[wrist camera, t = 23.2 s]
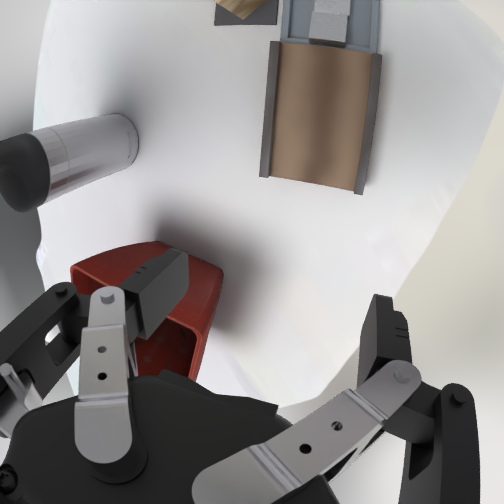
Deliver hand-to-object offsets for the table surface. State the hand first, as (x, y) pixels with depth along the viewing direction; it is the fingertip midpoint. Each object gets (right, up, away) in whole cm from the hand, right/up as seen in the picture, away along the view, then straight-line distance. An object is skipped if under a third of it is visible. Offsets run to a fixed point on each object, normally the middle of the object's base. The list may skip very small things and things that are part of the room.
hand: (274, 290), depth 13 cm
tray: (+8, +29, +15) cm, 34 cm away
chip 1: (+8, +30, +13) cm, 33 cm away
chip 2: (+8, +26, +16) cm, 32 cm away
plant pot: (-12, -4, +40) cm, 42 cm away
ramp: (+7, +18, +21) cm, 29 cm away
